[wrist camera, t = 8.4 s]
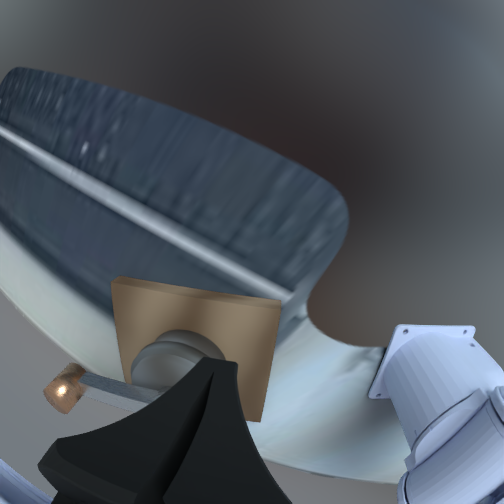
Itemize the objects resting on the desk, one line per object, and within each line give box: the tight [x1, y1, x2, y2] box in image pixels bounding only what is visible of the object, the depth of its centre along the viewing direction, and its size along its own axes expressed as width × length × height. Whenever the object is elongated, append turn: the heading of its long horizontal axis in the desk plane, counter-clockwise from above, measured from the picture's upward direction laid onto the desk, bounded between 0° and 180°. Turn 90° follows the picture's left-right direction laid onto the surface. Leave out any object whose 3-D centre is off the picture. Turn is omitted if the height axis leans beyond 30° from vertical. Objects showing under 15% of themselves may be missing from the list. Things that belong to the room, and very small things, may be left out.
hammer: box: [44, 363, 171, 414], centre depth 15 cm, size 10×2×4 cm, turn 88°
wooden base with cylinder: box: [111, 276, 281, 422], centre depth 20 cm, size 13×12×6 cm
